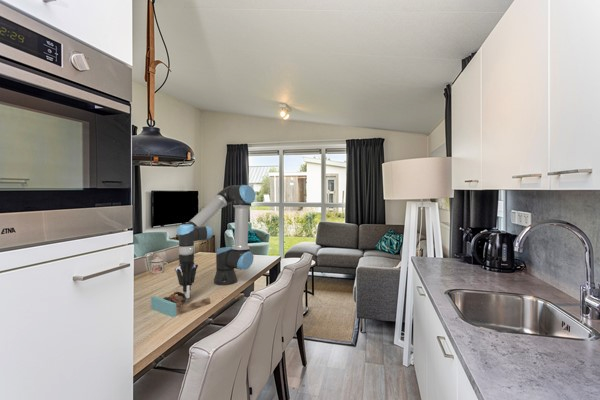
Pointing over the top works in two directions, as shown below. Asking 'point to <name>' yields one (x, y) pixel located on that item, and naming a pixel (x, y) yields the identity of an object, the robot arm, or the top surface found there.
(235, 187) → the robot arm
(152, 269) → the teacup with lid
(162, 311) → the end stop
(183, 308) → the channel
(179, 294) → the pottery mug
